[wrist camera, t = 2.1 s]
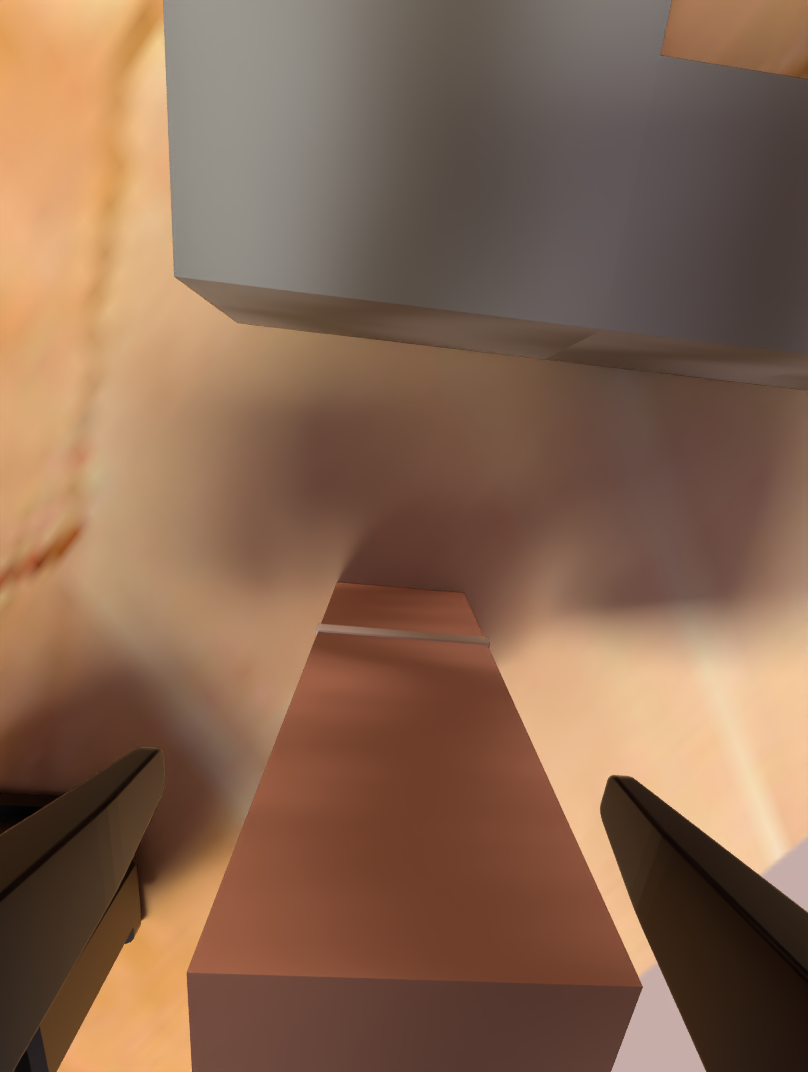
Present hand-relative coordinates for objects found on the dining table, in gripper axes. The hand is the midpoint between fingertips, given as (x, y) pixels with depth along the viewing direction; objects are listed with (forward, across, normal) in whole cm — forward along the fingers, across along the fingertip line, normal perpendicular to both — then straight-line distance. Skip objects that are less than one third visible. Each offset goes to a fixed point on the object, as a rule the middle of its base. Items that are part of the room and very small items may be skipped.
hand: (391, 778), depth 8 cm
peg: (+5, 0, 0) cm, 5 cm away
